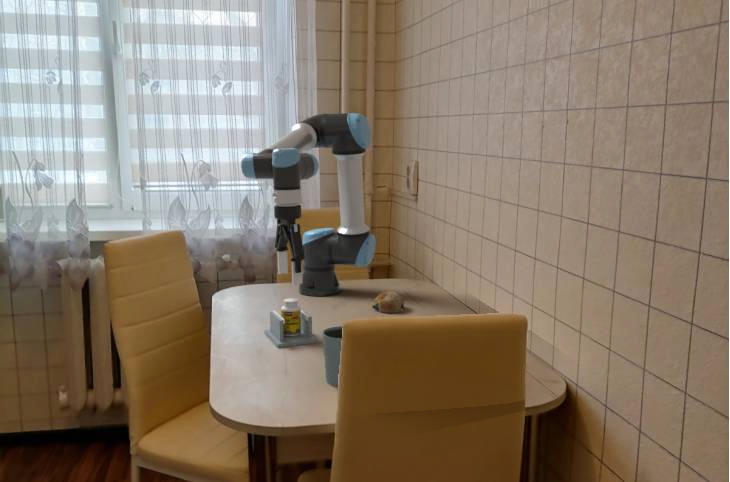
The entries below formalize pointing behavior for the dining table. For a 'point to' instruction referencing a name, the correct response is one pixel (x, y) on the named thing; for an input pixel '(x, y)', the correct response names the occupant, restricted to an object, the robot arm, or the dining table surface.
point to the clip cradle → (284, 341)
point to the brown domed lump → (388, 302)
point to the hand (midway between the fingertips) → (290, 278)
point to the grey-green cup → (332, 353)
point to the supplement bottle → (291, 317)
